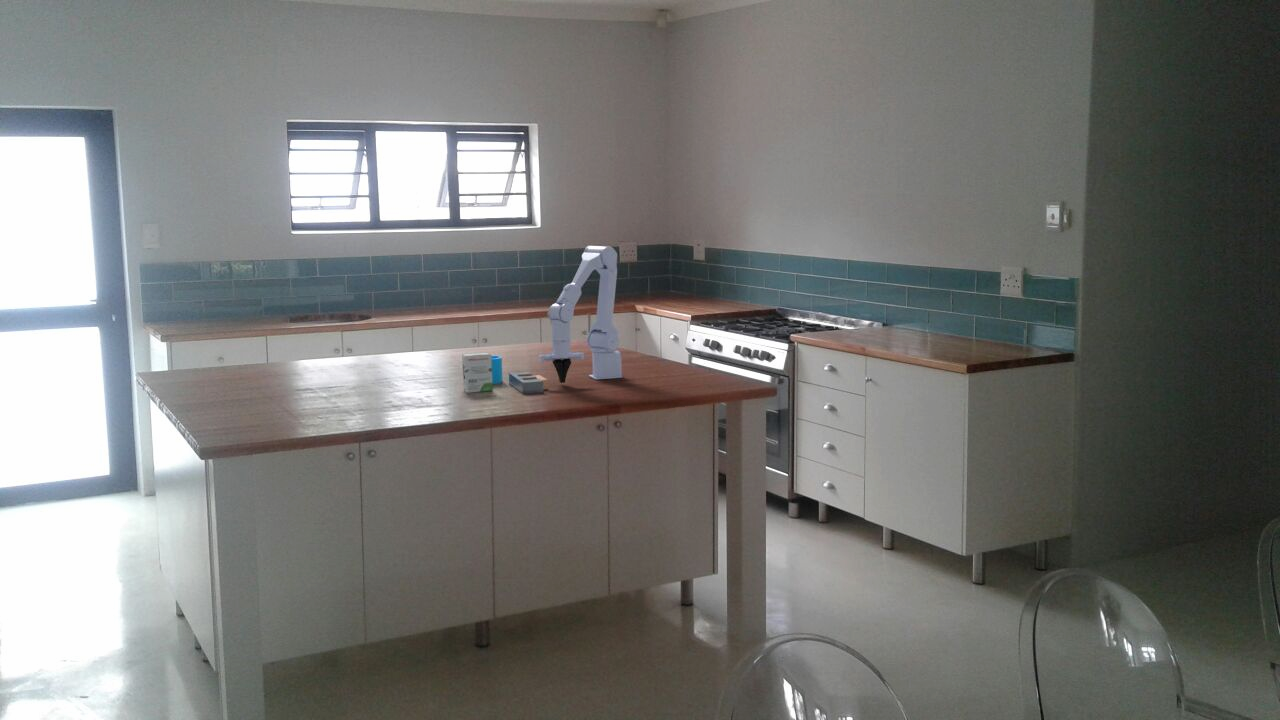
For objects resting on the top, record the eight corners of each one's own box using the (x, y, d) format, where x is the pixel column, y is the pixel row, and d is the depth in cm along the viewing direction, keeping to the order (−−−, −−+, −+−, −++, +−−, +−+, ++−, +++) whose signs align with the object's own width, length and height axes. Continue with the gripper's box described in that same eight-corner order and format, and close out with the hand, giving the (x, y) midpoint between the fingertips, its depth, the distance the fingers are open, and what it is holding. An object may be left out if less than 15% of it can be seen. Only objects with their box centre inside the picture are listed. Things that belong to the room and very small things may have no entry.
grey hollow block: (528, 382, 373) (528, 371, 373) (543, 392, 354) (542, 381, 354) (509, 383, 371) (508, 373, 371) (522, 393, 352) (522, 382, 352)
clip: (539, 384, 369) (539, 375, 369) (547, 389, 360) (547, 379, 360) (517, 385, 367) (517, 376, 367) (524, 390, 358) (524, 381, 357)
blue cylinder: (504, 383, 372) (503, 358, 371) (479, 384, 370) (478, 359, 369) (499, 377, 384) (498, 353, 383) (475, 378, 382) (474, 354, 381)
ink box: (489, 388, 363) (488, 352, 361) (493, 390, 358) (492, 354, 356) (463, 390, 360) (461, 353, 358) (466, 393, 355) (464, 355, 353)
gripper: (579, 337, 370) (580, 378, 372) (536, 340, 366) (537, 381, 368) (585, 340, 364) (586, 382, 366) (541, 343, 359) (542, 385, 361)
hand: (562, 382), depth 366 cm, fingers closed
